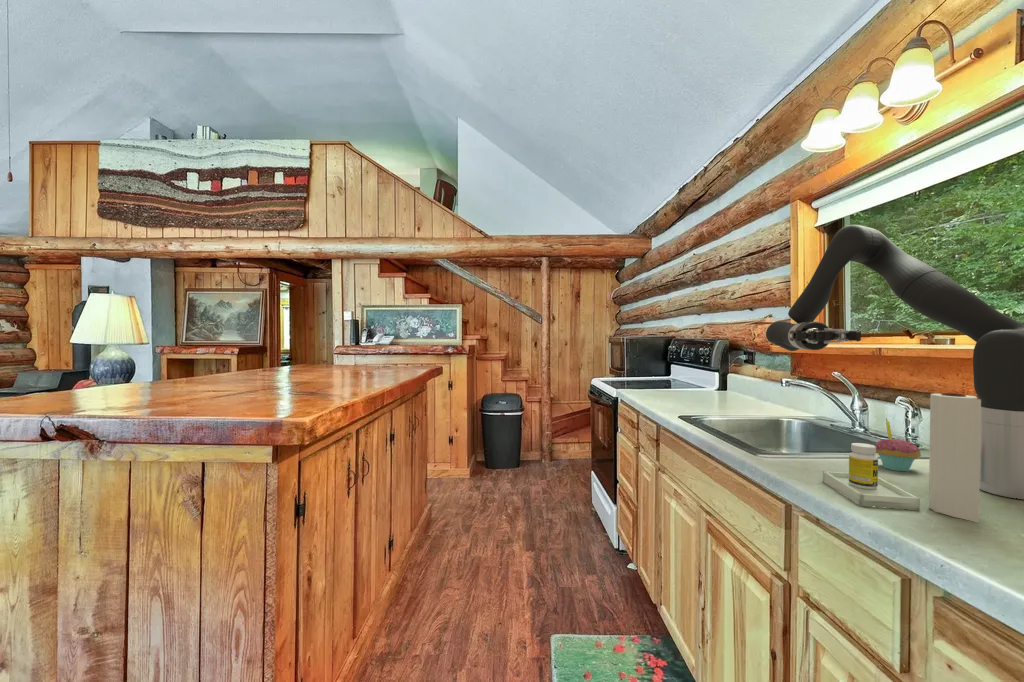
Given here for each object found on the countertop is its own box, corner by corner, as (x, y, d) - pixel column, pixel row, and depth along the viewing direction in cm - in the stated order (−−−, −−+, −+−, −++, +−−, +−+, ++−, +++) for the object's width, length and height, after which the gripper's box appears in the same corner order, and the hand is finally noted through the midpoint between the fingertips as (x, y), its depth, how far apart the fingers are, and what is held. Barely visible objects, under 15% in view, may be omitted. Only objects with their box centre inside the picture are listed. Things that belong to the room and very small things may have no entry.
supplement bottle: (878, 491, 90) (878, 449, 89) (848, 486, 92) (848, 445, 92) (877, 485, 93) (877, 444, 93) (848, 480, 96) (849, 441, 96)
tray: (873, 484, 98) (873, 474, 98) (919, 510, 83) (919, 498, 83) (822, 481, 100) (823, 471, 100) (859, 506, 85) (860, 494, 85)
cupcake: (878, 470, 108) (878, 420, 108) (870, 461, 116) (870, 414, 115) (925, 475, 104) (926, 423, 104) (913, 466, 112) (914, 417, 111)
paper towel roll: (927, 503, 87) (929, 391, 86) (972, 511, 83) (974, 394, 82) (930, 515, 81) (932, 395, 81) (978, 524, 77) (981, 398, 77)
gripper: (779, 322, 125) (804, 319, 109) (838, 322, 122) (872, 319, 106) (779, 349, 125) (804, 351, 109) (837, 350, 122) (872, 351, 106)
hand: (837, 335), depth 108 cm, fingers open, 8 cm apart
